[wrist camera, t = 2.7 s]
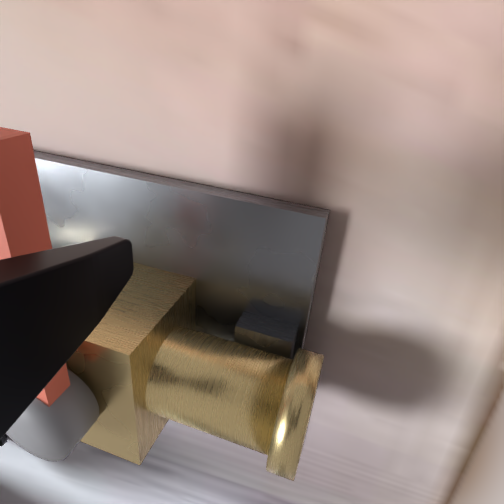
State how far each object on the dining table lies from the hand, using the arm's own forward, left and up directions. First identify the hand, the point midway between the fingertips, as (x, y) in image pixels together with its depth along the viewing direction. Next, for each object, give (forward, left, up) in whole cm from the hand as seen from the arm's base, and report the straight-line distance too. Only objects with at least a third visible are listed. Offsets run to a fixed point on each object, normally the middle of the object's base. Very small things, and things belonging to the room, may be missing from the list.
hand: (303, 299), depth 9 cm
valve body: (-7, +8, -7) cm, 13 cm away
